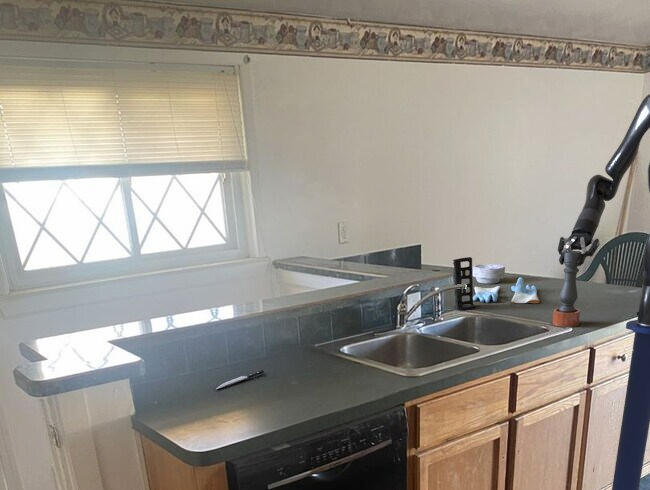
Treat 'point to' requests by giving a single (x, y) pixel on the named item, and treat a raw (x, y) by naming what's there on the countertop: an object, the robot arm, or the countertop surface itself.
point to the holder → (458, 281)
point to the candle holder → (569, 282)
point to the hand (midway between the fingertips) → (570, 263)
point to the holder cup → (566, 318)
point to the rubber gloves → (520, 291)
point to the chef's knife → (239, 379)
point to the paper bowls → (488, 273)
